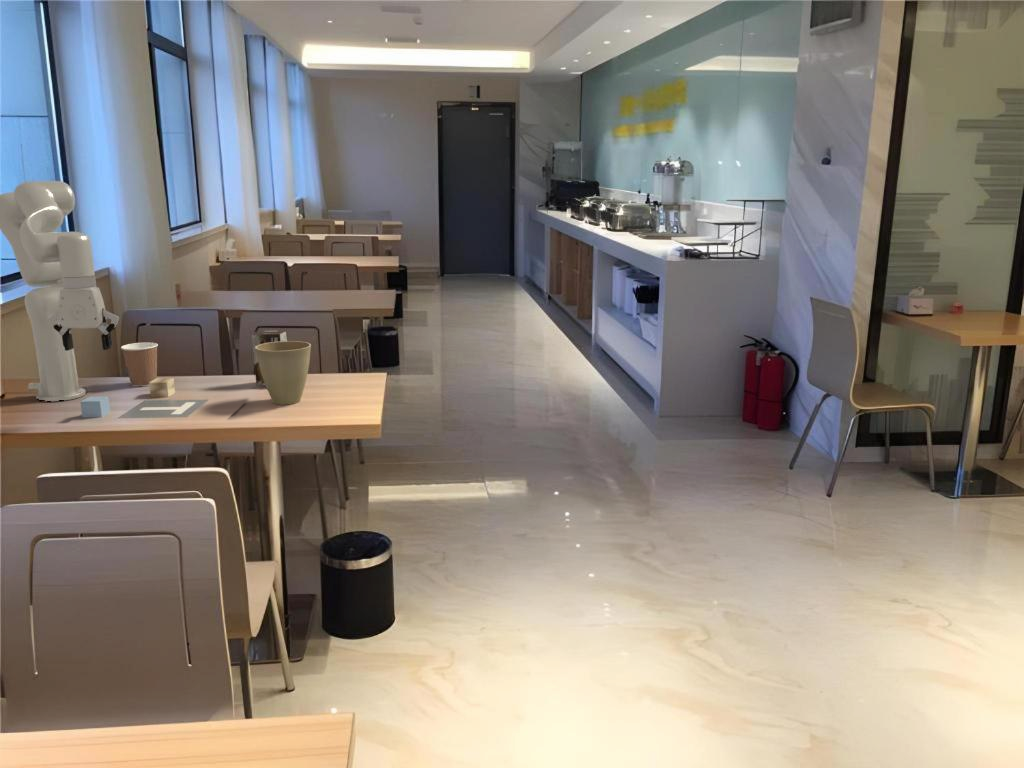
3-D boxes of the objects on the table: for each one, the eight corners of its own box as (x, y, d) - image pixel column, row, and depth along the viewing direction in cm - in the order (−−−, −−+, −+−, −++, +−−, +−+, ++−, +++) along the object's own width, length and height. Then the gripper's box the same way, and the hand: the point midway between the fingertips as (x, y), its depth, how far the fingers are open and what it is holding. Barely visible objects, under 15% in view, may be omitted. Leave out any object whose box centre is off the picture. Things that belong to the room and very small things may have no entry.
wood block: (151, 399, 237) (149, 382, 236) (158, 395, 242) (156, 378, 241) (168, 399, 237) (166, 382, 236) (175, 394, 242) (173, 378, 241)
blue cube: (82, 420, 217) (80, 401, 216) (91, 414, 222) (89, 396, 221) (102, 419, 217) (99, 401, 216) (110, 414, 222) (108, 396, 221)
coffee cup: (139, 379, 261) (135, 341, 258) (169, 380, 259) (164, 342, 256) (118, 387, 251) (113, 348, 248) (148, 388, 249) (144, 349, 246)
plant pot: (305, 408, 226) (301, 351, 222) (251, 408, 227) (246, 350, 223) (321, 394, 240) (317, 340, 237) (270, 394, 241) (266, 340, 237)
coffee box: (292, 381, 256) (288, 329, 253) (284, 386, 250) (280, 333, 246) (263, 381, 257) (259, 329, 253) (255, 386, 251) (250, 333, 247)
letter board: (117, 420, 216) (116, 418, 216) (144, 402, 234) (144, 400, 233) (187, 419, 217) (186, 417, 216) (209, 401, 234) (209, 399, 234)
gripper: (37, 285, 208) (47, 352, 212) (107, 284, 208) (115, 351, 212) (52, 282, 215) (61, 347, 219) (120, 280, 215) (128, 346, 219)
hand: (88, 349), depth 215 cm, fingers open, 9 cm apart
